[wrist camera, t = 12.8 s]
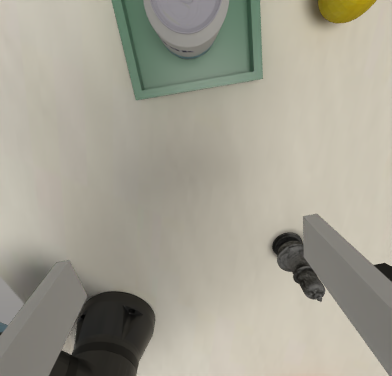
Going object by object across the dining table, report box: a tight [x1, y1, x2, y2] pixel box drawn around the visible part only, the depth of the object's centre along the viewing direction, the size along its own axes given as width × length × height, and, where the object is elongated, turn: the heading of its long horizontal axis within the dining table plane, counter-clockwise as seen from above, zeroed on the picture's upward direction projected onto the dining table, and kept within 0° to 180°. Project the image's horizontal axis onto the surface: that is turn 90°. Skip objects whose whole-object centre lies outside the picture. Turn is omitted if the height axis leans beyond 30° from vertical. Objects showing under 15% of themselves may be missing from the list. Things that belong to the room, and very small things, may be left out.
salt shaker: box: [273, 233, 325, 302], centre depth 36 cm, size 6×6×12 cm
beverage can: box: [143, 0, 229, 59], centre depth 22 cm, size 7×7×12 cm
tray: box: [112, 0, 263, 100], centre depth 27 cm, size 16×14×2 cm
